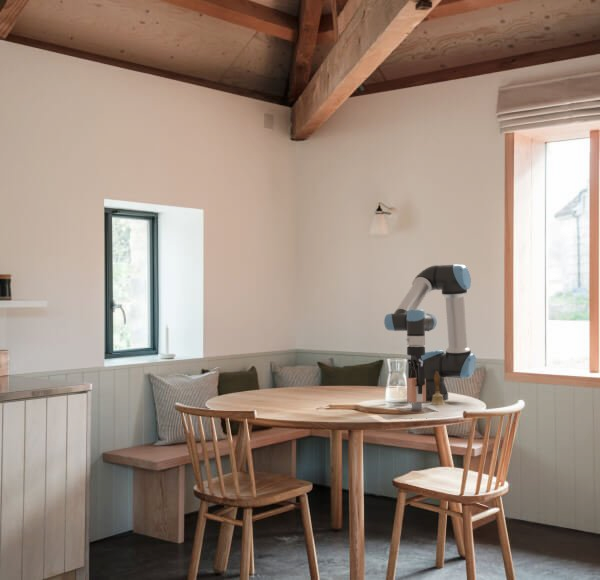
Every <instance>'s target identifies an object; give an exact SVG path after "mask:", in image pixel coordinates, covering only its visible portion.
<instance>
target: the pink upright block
mask: <svg viewBox="0 0 600 580" xmlns="http://www.w3.org/2000/svg"><path fill="white" fill-rule="evenodd" d="M415 385H417V382H416V378H408V377H406V401H407V402H410V403H411V404H412V403H417V402H416V386H415ZM422 403H427V400H426V379H425V385H423V402H422Z"/></svg>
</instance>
